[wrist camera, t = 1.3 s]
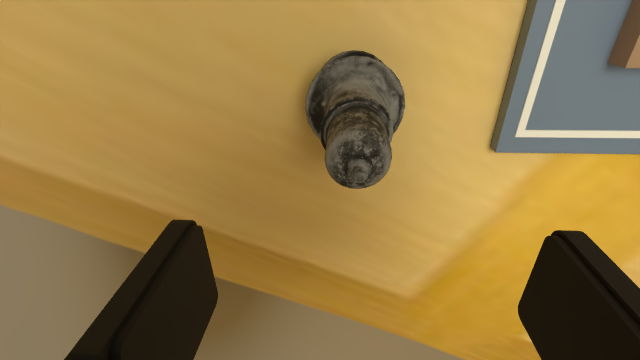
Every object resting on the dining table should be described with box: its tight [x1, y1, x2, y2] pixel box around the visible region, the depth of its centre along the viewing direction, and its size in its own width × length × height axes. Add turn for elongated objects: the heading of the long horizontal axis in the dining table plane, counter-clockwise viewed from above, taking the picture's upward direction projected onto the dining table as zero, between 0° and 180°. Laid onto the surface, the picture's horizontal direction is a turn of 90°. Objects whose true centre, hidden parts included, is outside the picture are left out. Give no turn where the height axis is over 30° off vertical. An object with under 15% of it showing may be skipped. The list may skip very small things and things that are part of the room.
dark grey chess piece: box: [305, 51, 405, 189], centre depth 18 cm, size 6×6×12 cm
